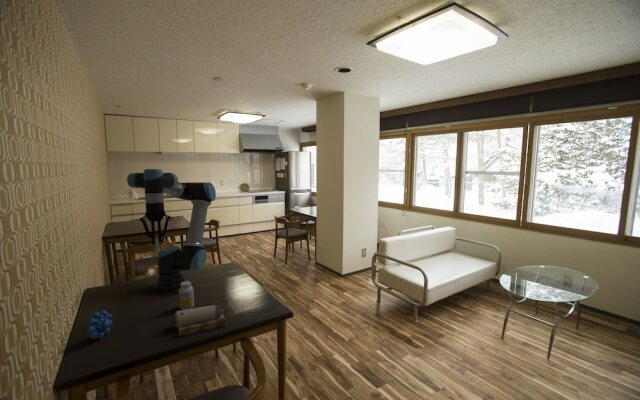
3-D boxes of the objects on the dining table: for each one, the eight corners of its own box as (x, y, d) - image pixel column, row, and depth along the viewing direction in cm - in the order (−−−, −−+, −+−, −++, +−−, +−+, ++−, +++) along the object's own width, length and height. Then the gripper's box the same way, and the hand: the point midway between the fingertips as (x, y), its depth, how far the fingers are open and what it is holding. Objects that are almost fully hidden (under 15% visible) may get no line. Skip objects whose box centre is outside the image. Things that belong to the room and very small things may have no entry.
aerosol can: (176, 318, 130) (223, 309, 138) (176, 331, 125) (224, 322, 132) (175, 308, 126) (223, 300, 134) (174, 321, 121) (224, 312, 129)
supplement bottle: (182, 304, 148) (181, 280, 147) (196, 304, 148) (194, 280, 147) (177, 310, 141) (176, 285, 140) (191, 310, 142) (190, 285, 140)
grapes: (98, 347, 112) (96, 318, 111) (82, 346, 113) (80, 317, 112) (121, 330, 124) (119, 304, 123) (107, 330, 124) (104, 303, 123)
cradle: (179, 336, 120) (178, 330, 119) (178, 318, 134) (178, 313, 134) (226, 325, 128) (226, 319, 128) (221, 309, 142) (221, 304, 142)
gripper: (137, 203, 128) (140, 255, 131) (170, 202, 134) (172, 251, 137) (139, 201, 135) (142, 250, 137) (170, 200, 141) (173, 247, 143)
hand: (157, 251), depth 137 cm, fingers closed
